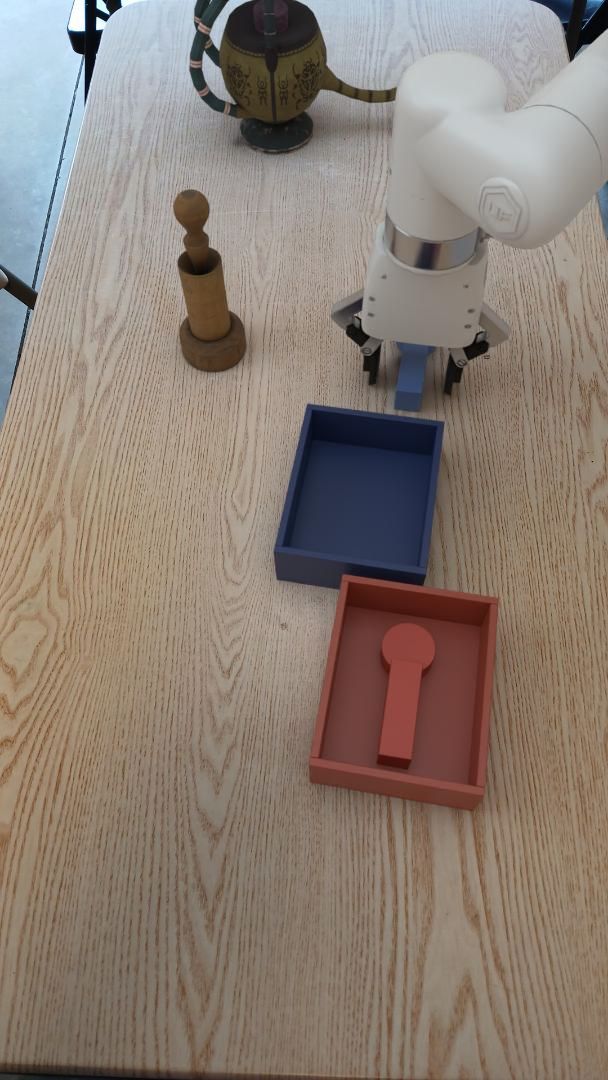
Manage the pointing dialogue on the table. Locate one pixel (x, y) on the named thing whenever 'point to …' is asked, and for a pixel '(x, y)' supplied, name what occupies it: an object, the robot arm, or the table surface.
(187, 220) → the mortar and pestle
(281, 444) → the table surface
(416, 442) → the blue bin
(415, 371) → the blue spoon
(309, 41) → the teapot
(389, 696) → the red spoon
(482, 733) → the red bin
